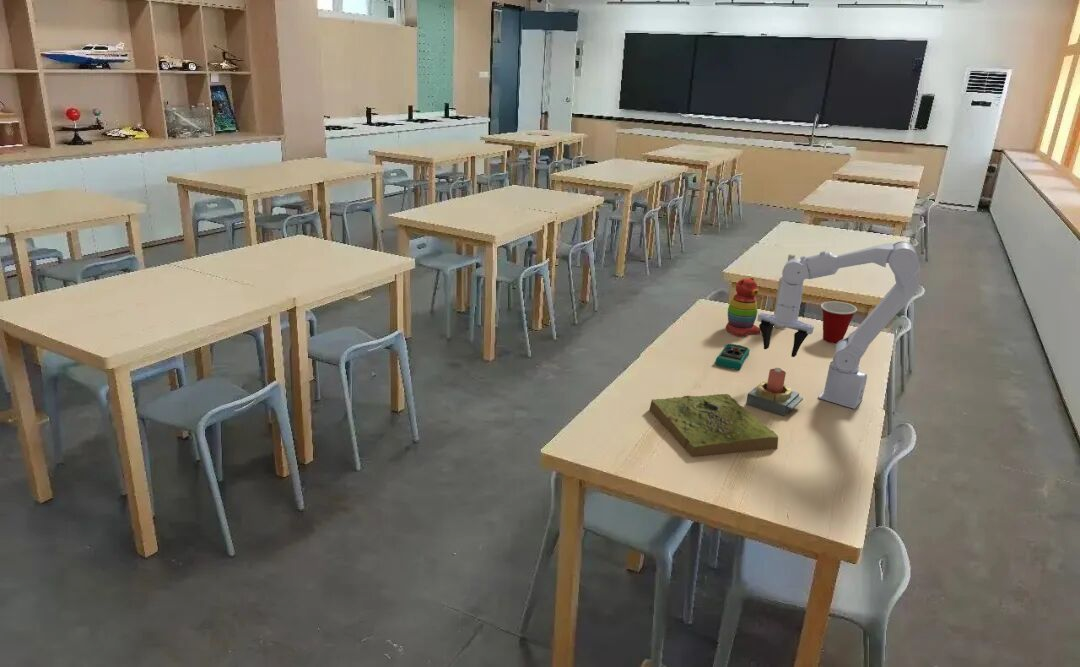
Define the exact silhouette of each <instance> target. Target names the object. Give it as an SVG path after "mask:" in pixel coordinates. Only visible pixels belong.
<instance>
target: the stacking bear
mask: <svg viewBox="0 0 1080 667" xmlns="http://www.w3.org/2000/svg"><path fill="white" fill-rule="evenodd" d="M759 290H760V289H759V286H758V284H757V282H756V280H755V279H754V278H753V277H749V278H741V279H739V280H738V281H737V283H736V285H735V291H736V294H733V295H734V296H733V297H732V298H731V299H730V303H729V305H728V308H727V323H726V325H725V329H726V331H727V332H728V333H730V334H731V335H733V336H736V337H739V336H740V337H741V338H744V337H746V336H747V334H748V335H760V334H762V333H761V330H760V328H759V326H757V325H755V322H756V321H757V317H758V302H757V298H756V296H757V295H758V293H759ZM743 336H744V337H743Z"/></svg>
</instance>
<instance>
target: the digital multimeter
mask: <svg viewBox="0 0 1080 667" xmlns="http://www.w3.org/2000/svg"><path fill="white" fill-rule="evenodd" d="M749 355H750V348H749V347H746V346H745V345H744V346H743V345H740V344H737V343H736V344H734V343H726V344H725V345H724V347H723V349H722V351H721V352H720V353H719V355H718V356H716V357H715V363H714V364H715V365H716V366H719V367H722V368H726V369H731V370H737V371H740V370H741V369H742V366H743V364H744V363H745V361H746V359H747V357H749Z"/></svg>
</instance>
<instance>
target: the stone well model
mask: <svg viewBox="0 0 1080 667" xmlns="http://www.w3.org/2000/svg"><path fill="white" fill-rule="evenodd" d="M767 382H768V381H761V382H760V383H758V384H757V386H756V387H754V388H753V389H751V390H750V391H749V392H747V394H746V401H745V404H746V406H747V405H748V406H750V407H753V408H757V409H761V410H763V411H766V412H769V413H771V414H772V413H773V414H775V415H778V416H782V417H785V416H786V415H787V414H788V413H789V412H790V411H793V409H795V407H797V406H798V405H799V404H800V403H801V402H802V401H803V400H804V397H802V396H800V392H797V391H793V390H792V388H790V387H789V386H788V385H786V384H784V386H783V391H782V393H773V392H770V391H766V388H767Z"/></svg>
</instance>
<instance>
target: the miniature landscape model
mask: <svg viewBox="0 0 1080 667" xmlns="http://www.w3.org/2000/svg"><path fill="white" fill-rule="evenodd" d="M649 405H650V406H649V409H648V410H649V412H650V413H651V414H652V415H653V416H654V417H655V418H656V419H657V420H658V421H659V422H660V424H661V425H662V426H663V427H664V428H665V429H666V430H667V432H668V433H669V434H671V435H672V437H673V438H674V439H675V440H676V441H677V442H678V443H679V445H680V446H682V448H683V449H684V450H685V451H686V452H687V453H688V455H689V456H690V457H691V458H701V457H711V456H718V455H719V456H720V455H729V454H738V453H740V454H741V453H748V452H757V451H760V452H761V451H765V450H767V451H768V450H775V449H777V450H778V447H779V446H778V444H779V436H778V435H777V433H776V432H775V431H774V430H771V429H770V428H769V427H768V426H766V425H765V424H764V423H763V422H762V421H761V420H759V419H758V418H757V417H756V416H755V415H754V414H751V413H750V411H748V410H746V409H745V408H744V407H743V405H740V404H739V403H738V402H737V399H735V398H733V397H732V396H731V395H730V394H728V393H722V394H721V393H717V394H713V395H712V394H708V395H696V396H695V395H683V396H681V397H676V396H674V397H669V398H668V397H667V398H657V399H653V398H652V399H651V401H650V404H649Z"/></svg>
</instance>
